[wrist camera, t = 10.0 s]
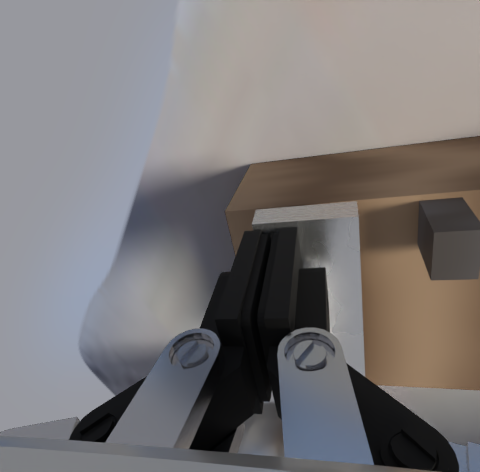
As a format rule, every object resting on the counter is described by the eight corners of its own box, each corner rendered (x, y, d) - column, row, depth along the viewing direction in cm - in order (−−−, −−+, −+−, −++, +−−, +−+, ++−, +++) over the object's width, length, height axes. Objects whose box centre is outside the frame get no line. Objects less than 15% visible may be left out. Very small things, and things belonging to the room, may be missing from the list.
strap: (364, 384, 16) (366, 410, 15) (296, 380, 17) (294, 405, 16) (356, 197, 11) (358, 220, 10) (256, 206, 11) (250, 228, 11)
